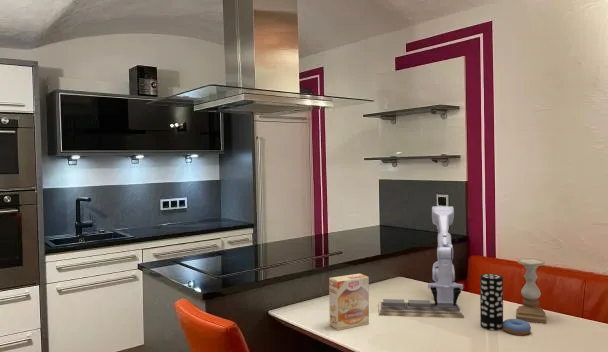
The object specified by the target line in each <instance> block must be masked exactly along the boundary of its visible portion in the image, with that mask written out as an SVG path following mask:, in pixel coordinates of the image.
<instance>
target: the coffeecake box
mask: <svg viewBox="0 0 608 352" xmlns="http://www.w3.org/2000/svg"><path fill="white" fill-rule="evenodd" d="M369 278H370V277H369V276H367V275H365V274H363V273H355V274H354V273H353V274H348V275H347V274H346V275H340V276H339V275H338V276H334V277H329V278H328V279H329V282H328V283H329V285H328V286H329V291H328V292H329V296H328V297H329V301H328V302H329V326H330V327H333V328H334V329H335V330H337V331H341V330H347V329H351V328H356V327H360V326H365V325H369V324H370V312H369V311H370V304H369V303H370V299H369V298H370V297H369V295H370V292H369V291H370V289H369V288H370V285H369V284H370V283H369V282H370V279H369Z"/></svg>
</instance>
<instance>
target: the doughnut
mask: <svg viewBox="0 0 608 352" xmlns="http://www.w3.org/2000/svg"><path fill="white" fill-rule="evenodd" d="M502 326H503V329H502V330H504V331H505V333H507V332H508V334H511V335H514V336H525V335H529V333H530V332H531V330H532V329H531V328H532V327H531V324H530V322H526V321H523V320H520V319H516V318H508V319H504V320H503V325H502Z"/></svg>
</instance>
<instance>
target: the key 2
mask: <svg viewBox="0 0 608 352" xmlns="http://www.w3.org/2000/svg"><path fill="white" fill-rule="evenodd" d="M433 303H434V307H435V308H457V306H454V305H453V303H437V305H435V302H433Z"/></svg>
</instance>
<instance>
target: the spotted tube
mask: <svg viewBox="0 0 608 352" xmlns="http://www.w3.org/2000/svg"><path fill="white" fill-rule="evenodd" d="M479 277H480V280H479V281H480V283H479V285H480V292H479V293H480V294H479V296H480V297H479V298H480V300H479V302H480V304H479V305H480V307H479V309H480V314H479V315H480V317H479V318H480V322H479V323H480V327H481V328H482V329H485V330H488V331H501V330H504V329H503V326H502V325H503V322H504V277H503V276H502V275H500V274H495V273H483V274H481V275H479Z"/></svg>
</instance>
